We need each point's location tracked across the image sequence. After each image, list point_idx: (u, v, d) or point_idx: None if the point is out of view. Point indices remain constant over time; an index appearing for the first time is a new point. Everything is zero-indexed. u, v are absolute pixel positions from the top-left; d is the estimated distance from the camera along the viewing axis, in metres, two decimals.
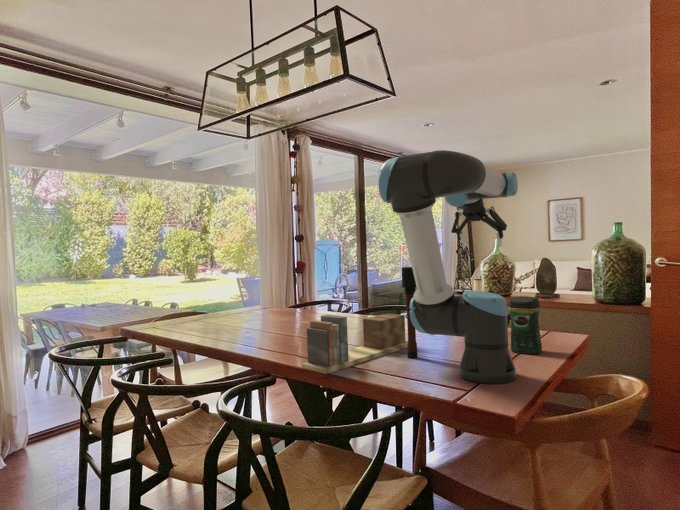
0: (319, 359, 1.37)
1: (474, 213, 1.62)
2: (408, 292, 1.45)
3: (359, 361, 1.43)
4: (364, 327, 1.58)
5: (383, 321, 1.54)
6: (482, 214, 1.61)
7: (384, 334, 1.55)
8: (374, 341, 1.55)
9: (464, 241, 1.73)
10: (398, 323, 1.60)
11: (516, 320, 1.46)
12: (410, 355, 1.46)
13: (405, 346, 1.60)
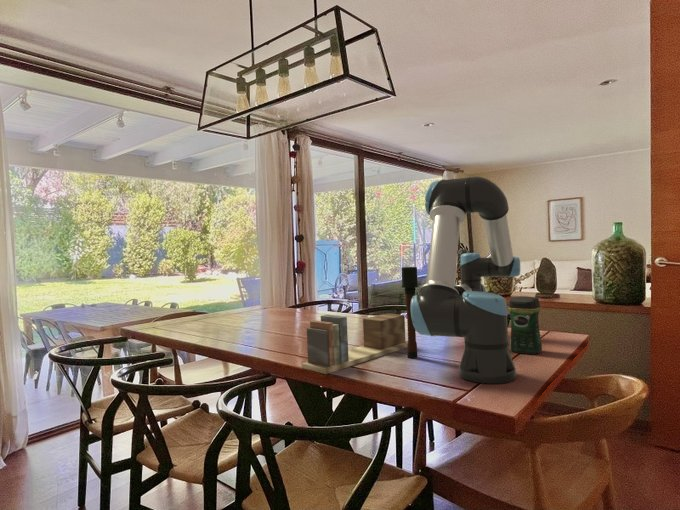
0: (319, 359, 1.37)
1: None
2: (408, 292, 1.45)
3: (359, 361, 1.43)
4: (364, 327, 1.58)
5: (383, 321, 1.54)
6: None
7: (384, 334, 1.55)
8: (374, 341, 1.55)
9: None
10: (398, 323, 1.60)
11: (516, 320, 1.46)
12: (410, 355, 1.46)
13: (405, 346, 1.60)
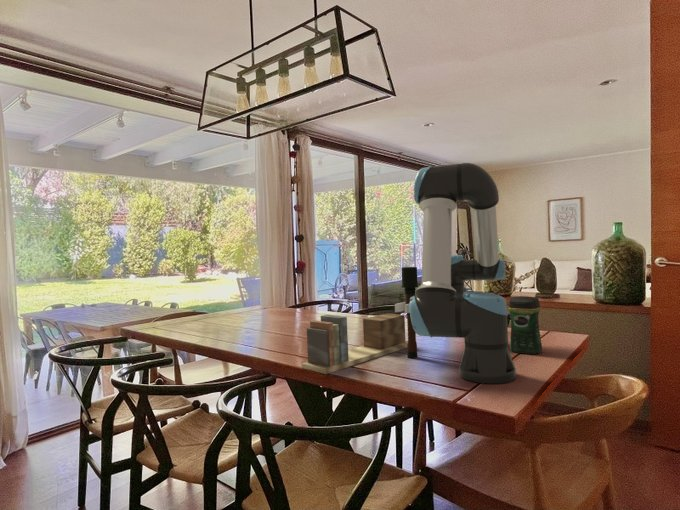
0: (319, 359, 1.37)
1: None
2: (408, 292, 1.45)
3: (359, 361, 1.43)
4: (364, 327, 1.58)
5: (383, 321, 1.54)
6: None
7: (384, 334, 1.55)
8: (374, 341, 1.55)
9: (400, 306, 1.46)
10: (398, 323, 1.60)
11: (516, 320, 1.46)
12: (410, 355, 1.46)
13: (405, 346, 1.60)
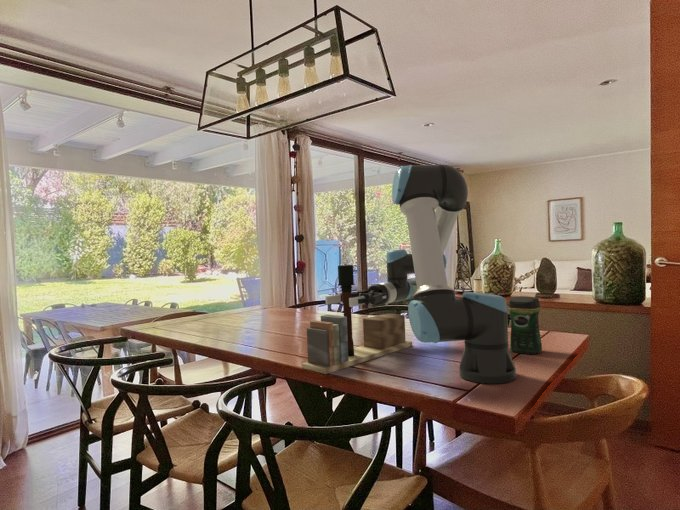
0: (319, 359, 1.37)
1: None
2: (344, 290, 1.46)
3: (359, 361, 1.43)
4: (364, 327, 1.58)
5: (383, 321, 1.54)
6: (376, 293, 1.53)
7: (384, 334, 1.55)
8: (374, 341, 1.55)
9: (331, 299, 1.49)
10: (398, 323, 1.60)
11: (516, 320, 1.46)
12: None
13: (405, 346, 1.60)
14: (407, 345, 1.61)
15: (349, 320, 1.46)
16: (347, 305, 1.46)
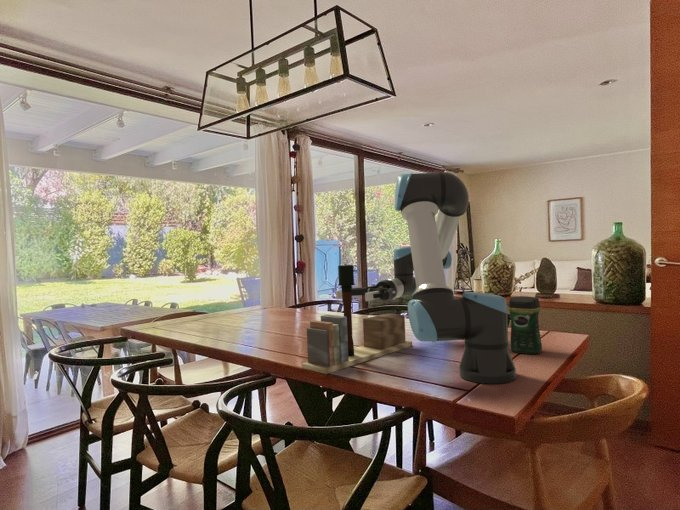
0: (319, 359, 1.37)
1: None
2: (344, 290, 1.46)
3: (359, 361, 1.43)
4: (364, 327, 1.58)
5: (383, 321, 1.54)
6: (384, 288, 1.60)
7: (384, 334, 1.55)
8: (374, 341, 1.55)
9: (341, 293, 1.58)
10: (398, 323, 1.60)
11: (516, 320, 1.46)
12: None
13: (405, 346, 1.60)
14: (407, 345, 1.61)
15: (349, 320, 1.46)
16: (347, 305, 1.46)
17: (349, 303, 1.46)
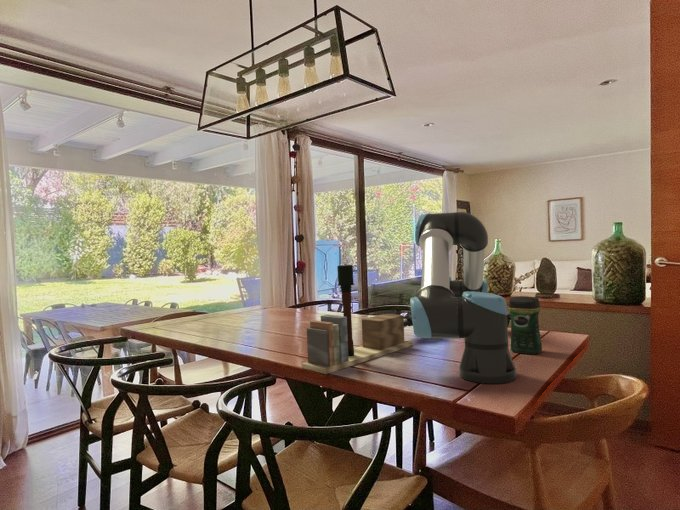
0: (319, 359, 1.37)
1: None
2: (344, 290, 1.45)
3: (359, 361, 1.43)
4: (363, 327, 1.58)
5: (382, 321, 1.54)
6: None
7: (383, 334, 1.54)
8: (372, 341, 1.55)
9: None
10: (396, 323, 1.60)
11: (516, 320, 1.46)
12: None
13: (405, 346, 1.60)
14: (407, 345, 1.61)
15: (349, 320, 1.46)
16: (347, 305, 1.46)
17: (349, 303, 1.46)
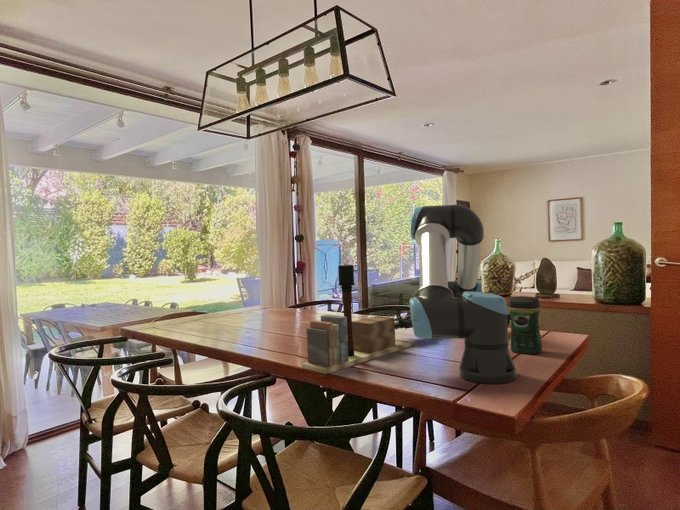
0: (319, 359, 1.37)
1: None
2: (344, 290, 1.45)
3: (359, 361, 1.43)
4: (352, 330, 1.54)
5: (372, 324, 1.50)
6: None
7: (373, 337, 1.50)
8: (362, 345, 1.51)
9: None
10: (387, 325, 1.56)
11: (516, 320, 1.46)
12: None
13: (405, 346, 1.60)
14: (407, 345, 1.61)
15: (349, 320, 1.46)
16: (347, 305, 1.46)
17: (349, 303, 1.46)
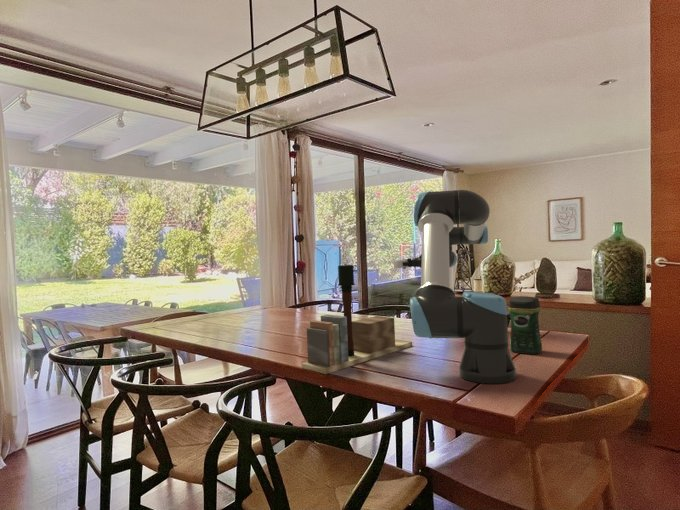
0: (319, 359, 1.37)
1: None
2: (344, 290, 1.45)
3: (359, 361, 1.43)
4: (352, 330, 1.54)
5: (371, 324, 1.50)
6: None
7: (372, 337, 1.50)
8: (362, 345, 1.51)
9: None
10: (387, 325, 1.55)
11: (516, 320, 1.46)
12: None
13: (405, 346, 1.60)
14: (407, 345, 1.61)
15: (349, 320, 1.46)
16: (347, 305, 1.46)
17: (349, 303, 1.46)
